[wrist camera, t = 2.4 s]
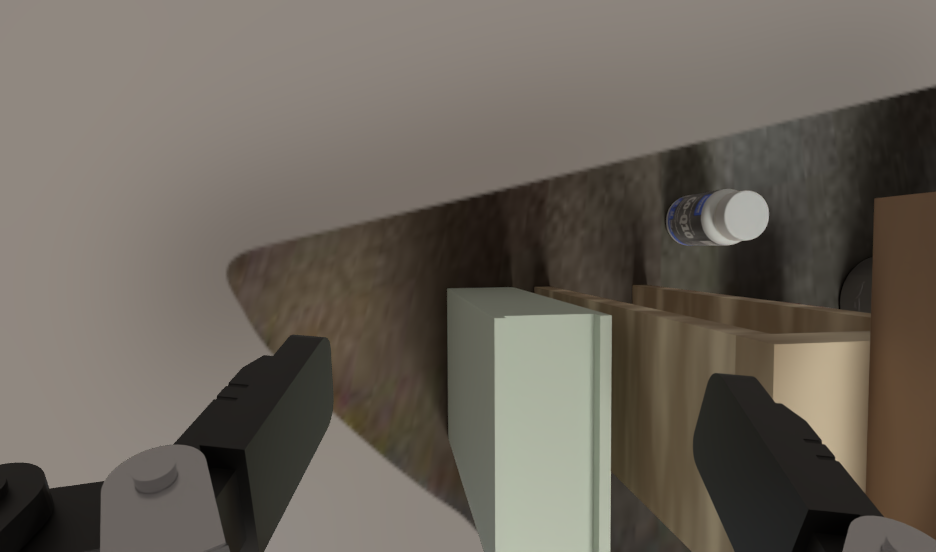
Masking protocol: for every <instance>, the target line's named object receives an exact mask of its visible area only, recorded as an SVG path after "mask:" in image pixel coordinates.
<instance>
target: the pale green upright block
mask: <svg viewBox="0 0 936 552" xmlns="http://www.w3.org/2000/svg"><path fill="white" fill-rule="evenodd" d="M447 348H448V439H449V442H450V445H451V448H452V451H453V455H454V458H455V461H456V464H457V467H458V471H459V474H460V477H461V480H462V483H463V487H464V490H465V493H466V496H467V499H468V502H469V506H470V509H471V512H472V515H473V518H474V522H475V525H476V528H477V531H478V534H479V538H480V541H481V544H482V547H483V550H484V552H610V514H611V363H612V315H609V314H605V313H602V312H598V311H595V310H591V309H588V308H584V307H581V306H577V305H574V304H570V303H567V302H563V301H560V300H556V299H553V298H549V297H546V296H542V295H539V294H535V293H532V292H528V291H525V290H521V289H518V288H514V287H493V288H447Z"/></svg>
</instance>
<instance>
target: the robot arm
mask: <svg viewBox="0 0 936 552" xmlns="http://www.w3.org/2000/svg"><path fill="white" fill-rule="evenodd" d="M872 263H873V257H870V258H868V259H866V260H864V261H862V262H860V263H859V264H858V265H857V266H855V267H854V268H853V270H852V271H851V272H850V273H849V275H848V276H847V278H846V280H845V282H844V285H843V288H842V291H841V297H840V309H841V310H848V311H856V312H864V313H871V297H872ZM332 411H333V381H332V364H331V348H330V342H329V340H328V339H327V338H325V337H314V336H302V335H291V336H290V337H289V338H288V339H287V340H286V341H285V342H284V344H283V345H282V346H281V347H280V348H279V350H278V351H277V352H276V353H275V354H274V356H265V355H264V356H262V357H260V358H258V359H257V360H255V361H253V362H251V363H250V364H248V365H246V366H245V367H243V368H242V369H241V370H240V371H239V372H238V373H237V375H236V376H235V377H234V378H233V379H232V380H231V381H230V382H229V385H228V386H226V387H225V388H224V389H223V390H222V391H221V392H220V393H219V394H218V395H217V399H216V400H213V401H212V402H211V403H210V405H208V407H207V408H206V409H205V410H204V411H203V412H202V413H201V415H199V417H198V418H197V419H196V420H195V421H194V422H193V423H192V425H191V426H190V427H189V428H188V429H187V430H186V431H185V432H184V434H182V436H181V437H180V438H179V439H178V440H177V441H176V442H175V443H174V444H173V445H165V446H160V447H156V448H152V449H149V450H146V451H143V452H141V453H139V454H136V455H134V456H133V457H131V458H129V459H127V460H126V461H124V462H123V463H121V464H120V465H119V466H118V467H116V468H115V469H114V470H113V471H112V472H111V473H110V474H109V475H108V477H107V478H106V480H105V481H102V482H96V483H88V484H80V485H74V486H66V487H58V488H51V489H49V486H48V483H47V480H46V477H45V474H44V472H43V470H42V469H41V468H39V467H38V466H36V465H33V464H29V463H8V464H2V465H0V552H264V550H265V549H266V547H267V545H268V543H269V540H270V539H271V537H272V535H273V533H274V531H275V529H276V527H277V525H278V523H279V521H280V519H281V518H282V516H283V514H284V512H285V510H286V508H287V506H288V504H289V502H290V500H291V498H292V496H293V494H294V492H295V490H296V489H297V486H298V485H299V483H300V481H301V479H302V477H303V475H304V473H305V471H306V469H307V467H308V465H309V463H310V461H311V459H312V458H313V455H314V454H315V452H316V450H317V448H318V446H319V444H320V442H321V440H322V438H323V436H324V434H325V432H326V430H327V428H328V426H329V423H330V420H331V416H332ZM693 456H694V461H695V464H696V467H697V469H698V471H699V473H700V476H701V478H702V480H703V482H704V485H705V487H706V489H707V491H708V494H709V496H710V498H711V500H712V502H713V505H714V507H715V509H716V511H717V514H718V516H719V518H720V520H721V523H722V525H723V527H724V529H725V531H726V534H727V536H728V538H729V540H730V543H731V545H732V547H733V549H734V552H936V540H935V539H933V538H932V537H930V536H928V535H927V534H925V533H923V532H921V531H920V530H918V529H916V528H914V527H912V526H909V525H907V524H904V523H902V522H899V521H896V520H893V519H890V518H885V517H884V516H883V515H882V514H881V513H880V511H879V510H878V509H877V508H876V506H875V505H874V504H873V503H872V501H871V500H870V499H869V498H868V496H867V495H866V494H865V493H864V492H863V490H862V489H861V488H860V487H859V485H858V484H857V483H856V482H855V480H854V479H853V478H852V477H851V476H850V474H849V473H848V472H847V471H846V469H845V468H844V467H843V466H842V464H841V463H840V462H839V461H836V460H835V456H834V455H833V453H832V452H831V451H830V450H829V448H828V447H827V446H826V445H825V444H822V440H821V439H820V437H819V436H818V435H817V434H816V432H815V431H814V430H813V429H812V428H811V426H810V425H809V424H808V423H807V421H805V420H804V419H803V418H801V417H800V416H799V415H797V414H796V413H794V412H793V411H792V410H790V409H789V408H788V407H786V406H785V405H783V404H782V403H775V402H774V400H773V399H772V398H771V396H770V395H769V394H768V392H767V391H766V390H765V388H764V387H763V386H762V385H761V383H760V382H759V381H758V380H757V378H755V377H753V376H745V375H733V374H722V373H714V374H712V375H711V377H710V378H709V380H708V383H707V386H706V390H705V394H704V398H703V401H702V405H701V409H700V413H699V416H698V420H697V424H696V427H695V431H694V436H693Z"/></svg>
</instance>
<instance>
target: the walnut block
mask: <svg viewBox="0 0 936 552" xmlns="http://www.w3.org/2000/svg"><path fill="white" fill-rule="evenodd" d="M866 495H867V496H868V498H869V499H870V500H871V501H872V503H873V504H874V505H875V506H876V508H877V509H878V510H879V511H880V513H881V514H882V515H883V516H884V517H885V518H890V519H893V520H896V521H899V522H902V523H904V524H907V525H909V526H912V527H914V528H916V529H918V530H920V531H921V532H923V533H925V534H927V535H928V536H930V537H932V538H933V539H935V540H936V192H928V193H919V194H910V195H901V196H892V197H883V198H874V230H873V263H872V297H871V330H870V363H869V397H868V430H867V464H866Z"/></svg>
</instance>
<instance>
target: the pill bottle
mask: <svg viewBox="0 0 936 552" xmlns="http://www.w3.org/2000/svg"><path fill="white" fill-rule="evenodd" d="M768 220H769V210H768V206H767V203H766V202H765V200H764V199H763V197H762V196H761V195H759V194H758V193H756V192H753V191H748V190H744V191H737V190H733V189H721V190H717V191H711V192H705V193H699V194H694V195H688V196H684V197H681V198H679V199H678V200H676V201H675V202H674V203H673V204H672V205H671V206H670V208H669V210H668V213H667V217H666V226H667V230H668V232H669V234H670V236H671V237H672V238H673V239H674V240H675V241H676V242H678V243H680V244H682V245H688V246H718V245H733V244H736V243H738V242H740V241H746V240H752V239H754V238H756V237H758V236H759V235H760V234H761V233H762V232H763V231H764V230H765V228H766V226H767V224H768Z"/></svg>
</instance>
